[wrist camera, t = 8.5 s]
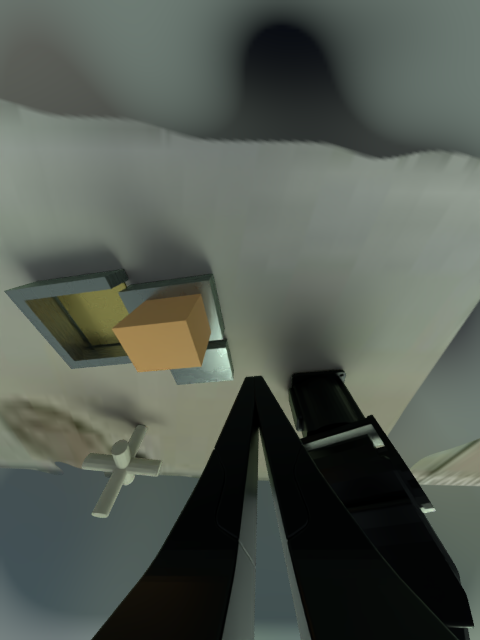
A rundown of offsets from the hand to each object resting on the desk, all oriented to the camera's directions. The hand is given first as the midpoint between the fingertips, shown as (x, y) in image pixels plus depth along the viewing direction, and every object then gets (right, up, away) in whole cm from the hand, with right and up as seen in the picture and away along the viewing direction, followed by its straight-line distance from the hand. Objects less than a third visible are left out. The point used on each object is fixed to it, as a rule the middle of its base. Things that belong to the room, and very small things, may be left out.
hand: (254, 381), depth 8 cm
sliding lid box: (-11, +4, +10) cm, 15 cm away
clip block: (-6, +3, +7) cm, 10 cm away
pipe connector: (-17, -15, +21) cm, 31 cm away
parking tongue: (-5, -2, +13) cm, 14 cm away
